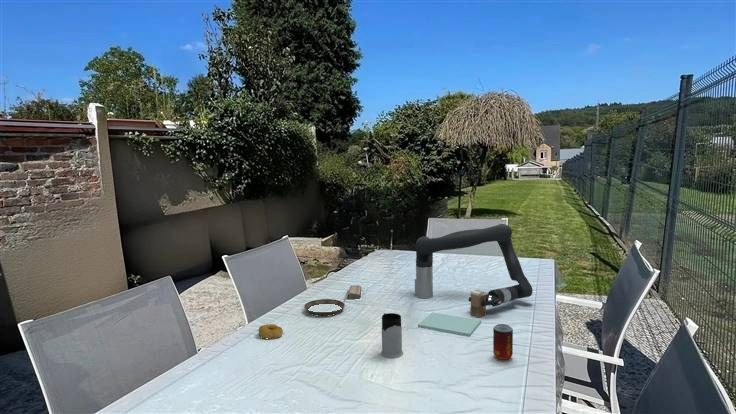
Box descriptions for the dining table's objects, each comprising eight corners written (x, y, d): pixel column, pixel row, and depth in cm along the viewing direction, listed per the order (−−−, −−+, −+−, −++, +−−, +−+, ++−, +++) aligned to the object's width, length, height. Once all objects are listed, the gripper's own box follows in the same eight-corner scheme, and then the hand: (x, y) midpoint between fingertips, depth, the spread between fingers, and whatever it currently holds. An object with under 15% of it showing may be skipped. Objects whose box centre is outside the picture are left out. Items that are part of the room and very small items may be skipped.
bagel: (272, 342, 185) (271, 331, 185) (253, 337, 191) (253, 326, 190) (288, 334, 193) (287, 323, 193) (270, 330, 199) (269, 320, 199)
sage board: (417, 327, 198) (417, 324, 198) (432, 314, 214) (432, 312, 214) (469, 336, 186) (469, 333, 186) (481, 322, 202) (481, 320, 202)
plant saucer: (352, 307, 228) (351, 301, 227) (332, 320, 209) (332, 314, 209) (318, 302, 236) (317, 296, 236) (296, 315, 218) (296, 308, 217)
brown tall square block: (478, 317, 208) (478, 293, 207) (470, 314, 212) (470, 290, 211) (485, 315, 211) (485, 291, 209) (478, 312, 215) (478, 289, 214)
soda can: (501, 351, 171) (501, 321, 169) (516, 358, 165) (516, 327, 164) (489, 356, 167) (489, 325, 165) (504, 363, 161) (504, 331, 160)
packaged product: (347, 284, 254) (364, 284, 253) (347, 292, 254) (364, 292, 254) (343, 293, 236) (362, 293, 236) (343, 302, 237) (362, 302, 236)
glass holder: (384, 359, 166) (384, 321, 165) (374, 344, 180) (373, 309, 178) (406, 356, 168) (405, 318, 167) (394, 342, 182) (393, 307, 181)
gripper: (488, 285, 224) (465, 290, 216) (510, 292, 211) (486, 298, 203) (488, 299, 225) (465, 305, 216) (510, 307, 212) (486, 313, 204)
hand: (475, 301), depth 210 cm, fingers open, 8 cm apart
